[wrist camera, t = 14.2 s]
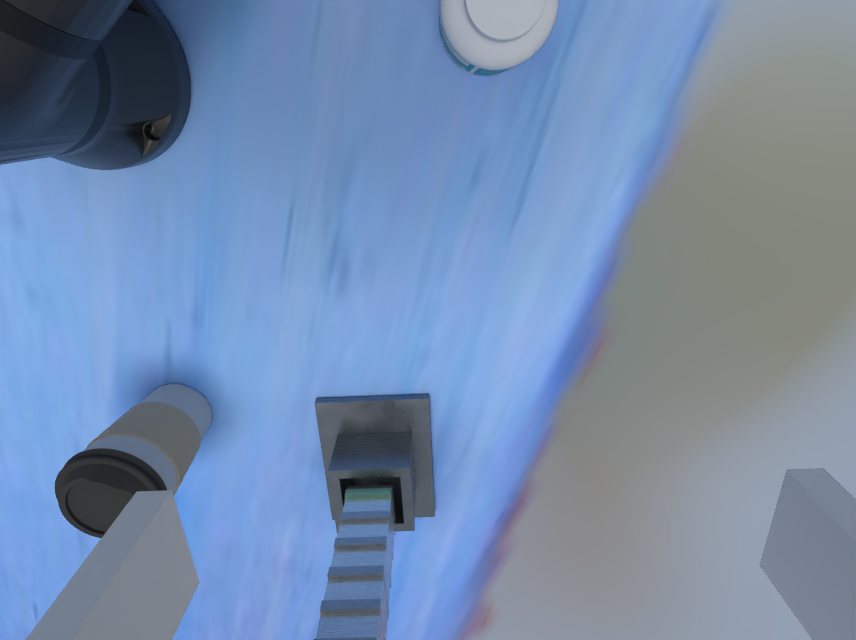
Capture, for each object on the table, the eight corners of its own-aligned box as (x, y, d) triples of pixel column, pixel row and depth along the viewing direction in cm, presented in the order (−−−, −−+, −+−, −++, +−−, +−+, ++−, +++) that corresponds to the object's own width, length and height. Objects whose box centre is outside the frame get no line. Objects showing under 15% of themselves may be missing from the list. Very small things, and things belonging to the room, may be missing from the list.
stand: (333, 513, 61) (321, 568, 54) (316, 397, 55) (299, 442, 48) (434, 510, 61) (435, 564, 54) (428, 393, 55) (428, 437, 48)
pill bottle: (544, -12, 40) (596, -61, 28) (512, 88, 43) (546, 83, 31) (453, -43, 40) (464, -109, 27) (427, 60, 42) (425, 44, 30)
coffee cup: (211, 455, 58) (144, 566, 44) (130, 430, 57) (34, 536, 43) (230, 391, 55) (163, 489, 41) (145, 362, 54) (46, 453, 40)
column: (353, 527, 53) (308, 778, 33) (346, 478, 50) (294, 717, 31) (396, 526, 53) (376, 777, 33) (391, 476, 50) (367, 715, 31)
